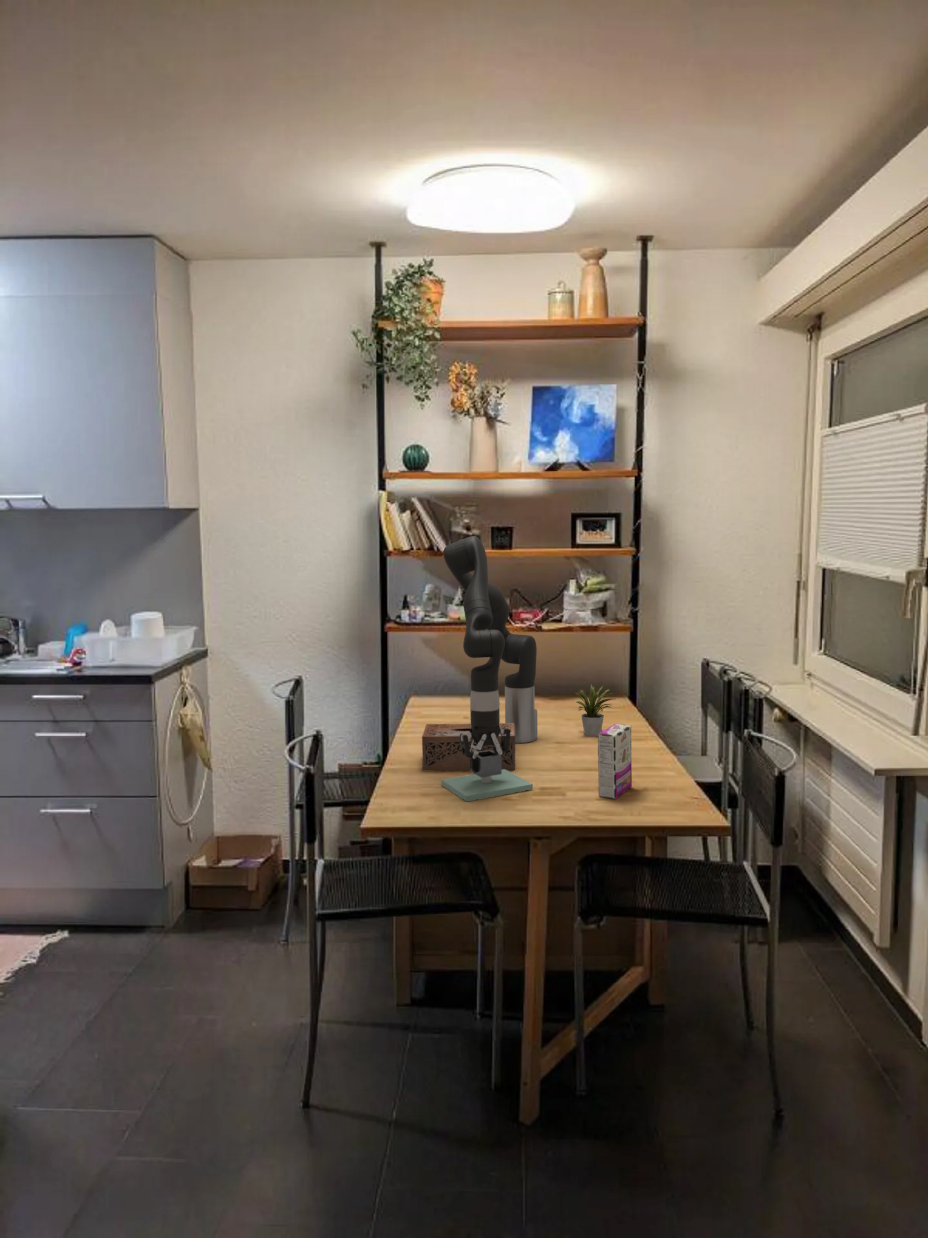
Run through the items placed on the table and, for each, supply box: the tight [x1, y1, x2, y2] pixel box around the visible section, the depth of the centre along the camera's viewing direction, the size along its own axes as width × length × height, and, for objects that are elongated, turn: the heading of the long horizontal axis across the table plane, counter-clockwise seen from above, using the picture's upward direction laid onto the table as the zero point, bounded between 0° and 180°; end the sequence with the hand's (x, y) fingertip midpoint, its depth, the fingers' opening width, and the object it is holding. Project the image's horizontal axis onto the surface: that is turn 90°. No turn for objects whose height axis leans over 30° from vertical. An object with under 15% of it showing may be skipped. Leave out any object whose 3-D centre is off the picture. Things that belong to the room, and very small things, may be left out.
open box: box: [470, 750, 502, 777], centre depth 227 cm, size 6×6×5 cm
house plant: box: [575, 683, 615, 738], centre depth 277 cm, size 14×14×16 cm
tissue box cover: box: [421, 722, 516, 771], centre depth 250 cm, size 26×14×10 cm, turn 87°
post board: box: [441, 769, 534, 802], centre depth 228 cm, size 19×15×6 cm
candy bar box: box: [597, 723, 633, 800], centre depth 222 cm, size 11×5×16 cm, turn 148°
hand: (485, 769), depth 228 cm, fingers closed on open box, 6 cm apart
